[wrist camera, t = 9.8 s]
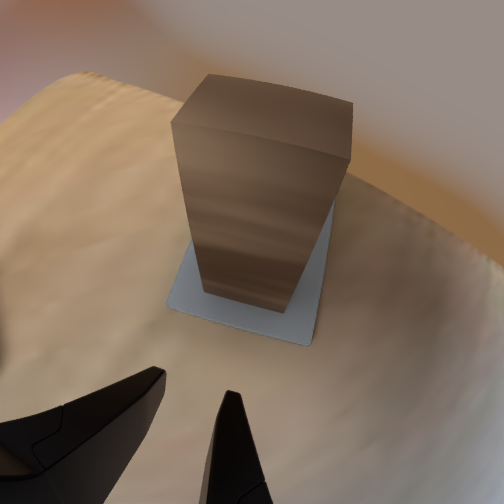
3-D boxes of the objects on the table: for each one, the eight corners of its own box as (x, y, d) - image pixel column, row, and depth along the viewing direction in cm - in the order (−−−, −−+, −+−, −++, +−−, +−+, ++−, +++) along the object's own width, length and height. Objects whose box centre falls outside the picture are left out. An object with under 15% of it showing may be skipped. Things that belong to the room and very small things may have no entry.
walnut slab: (283, 313, 18) (350, 160, 8) (203, 292, 19) (170, 122, 8) (293, 270, 20) (353, 103, 9) (218, 250, 20) (208, 73, 9)
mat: (308, 346, 18) (310, 344, 18) (167, 307, 19) (165, 304, 18) (336, 179, 25) (338, 174, 24) (232, 154, 26) (232, 149, 25)
